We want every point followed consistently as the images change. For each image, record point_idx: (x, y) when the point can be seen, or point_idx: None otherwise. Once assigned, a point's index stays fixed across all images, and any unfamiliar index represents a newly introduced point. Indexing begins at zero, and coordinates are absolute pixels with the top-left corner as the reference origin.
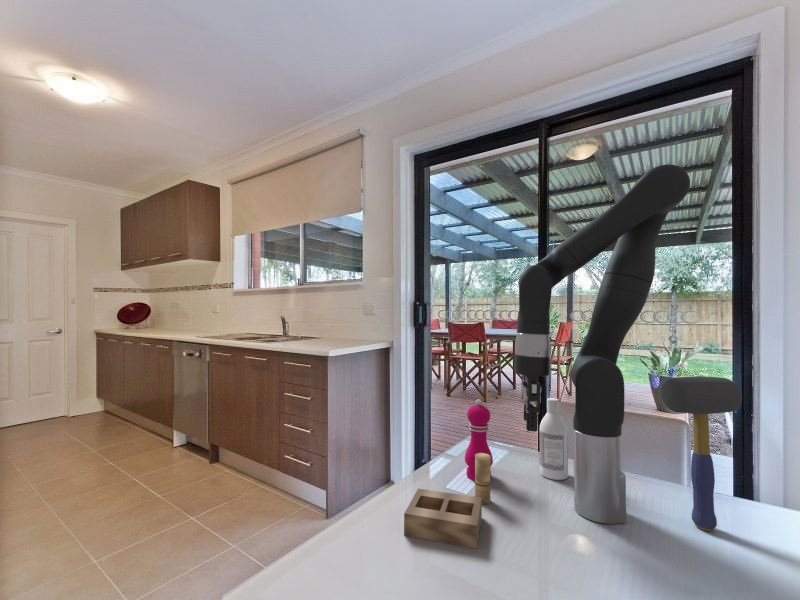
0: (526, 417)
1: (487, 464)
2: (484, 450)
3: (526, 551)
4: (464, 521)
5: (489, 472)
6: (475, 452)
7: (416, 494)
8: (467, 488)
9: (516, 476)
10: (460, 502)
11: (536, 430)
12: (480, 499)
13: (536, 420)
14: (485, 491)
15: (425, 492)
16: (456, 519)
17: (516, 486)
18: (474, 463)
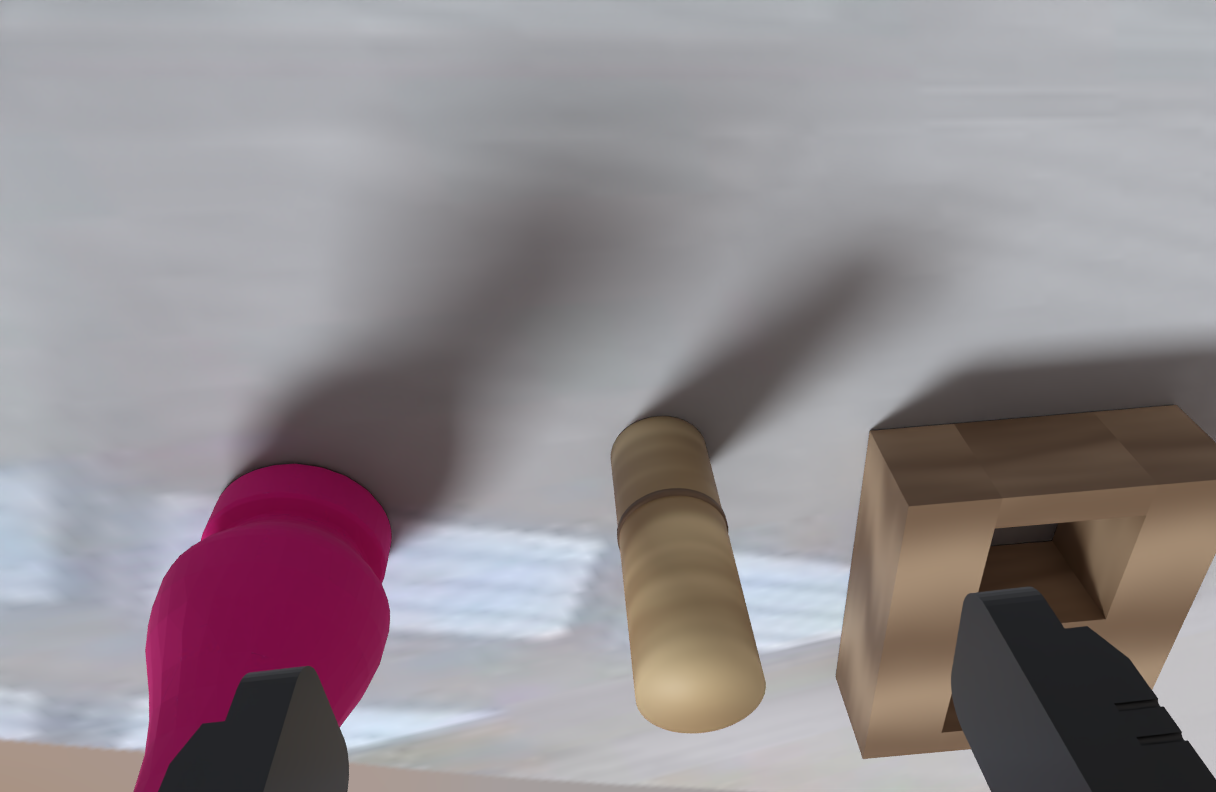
0: (326, 789)
1: (739, 618)
2: (304, 662)
3: (1200, 178)
4: (1205, 531)
5: (707, 558)
6: (351, 694)
7: (933, 747)
8: (527, 549)
9: (119, 305)
10: (976, 581)
11: (1029, 596)
12: (935, 507)
13: (1131, 760)
14: (715, 487)
15: (901, 726)
16: (1187, 564)
17: (325, 291)
18: (386, 630)
